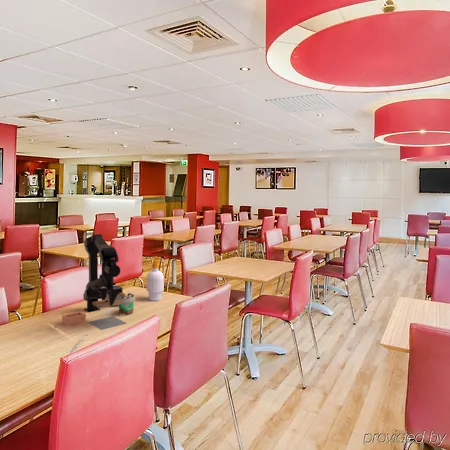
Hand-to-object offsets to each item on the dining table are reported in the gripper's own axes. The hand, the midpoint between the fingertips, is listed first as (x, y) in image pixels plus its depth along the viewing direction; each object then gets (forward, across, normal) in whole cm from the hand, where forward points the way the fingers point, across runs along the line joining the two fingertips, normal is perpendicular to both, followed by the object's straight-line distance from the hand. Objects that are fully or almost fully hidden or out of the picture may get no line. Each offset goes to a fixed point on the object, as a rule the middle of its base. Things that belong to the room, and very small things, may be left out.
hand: (107, 303), depth 196 cm
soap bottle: (+11, -20, +43) cm, 49 cm away
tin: (+11, -24, +19) cm, 33 cm away
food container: (+11, -6, +16) cm, 20 cm away
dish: (+10, -11, -12) cm, 19 cm away
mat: (+10, 0, 0) cm, 11 cm away
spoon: (+11, +15, -22) cm, 29 cm away
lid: (0, 0, 0) cm, 0 cm away
